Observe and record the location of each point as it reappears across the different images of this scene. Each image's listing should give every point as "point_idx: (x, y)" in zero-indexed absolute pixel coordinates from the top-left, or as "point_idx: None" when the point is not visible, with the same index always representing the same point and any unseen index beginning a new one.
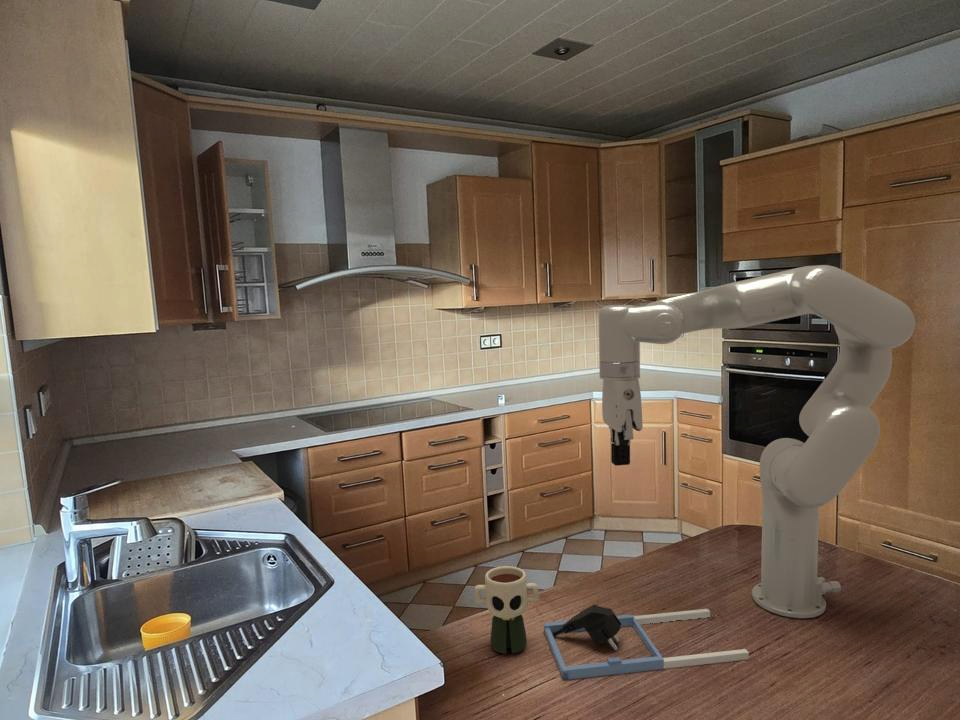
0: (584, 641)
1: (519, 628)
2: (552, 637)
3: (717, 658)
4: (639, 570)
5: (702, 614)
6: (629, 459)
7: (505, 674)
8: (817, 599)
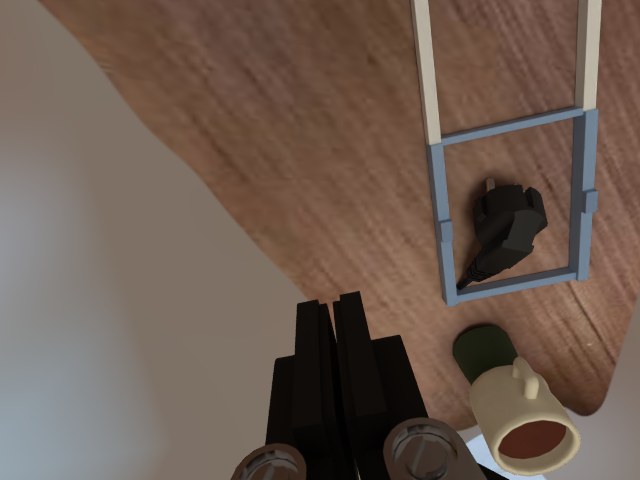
0: None
1: (516, 355)
2: (485, 291)
3: None
4: (180, 87)
5: None
6: (362, 311)
7: (546, 344)
8: None
